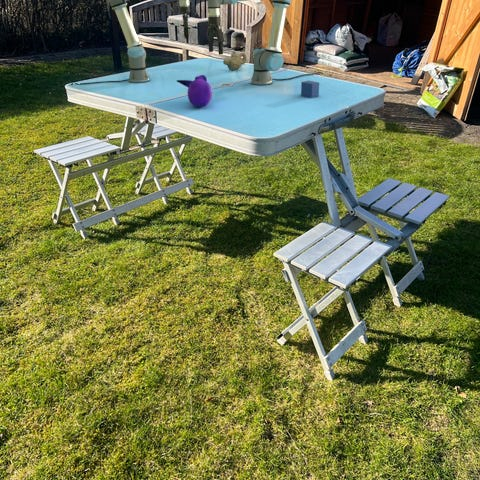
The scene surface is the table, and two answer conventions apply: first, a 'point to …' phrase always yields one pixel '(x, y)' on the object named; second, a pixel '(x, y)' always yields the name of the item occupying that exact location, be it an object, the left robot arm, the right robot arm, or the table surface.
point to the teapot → (235, 61)
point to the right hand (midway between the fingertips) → (215, 53)
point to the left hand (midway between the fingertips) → (186, 37)
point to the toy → (198, 91)
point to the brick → (310, 89)
